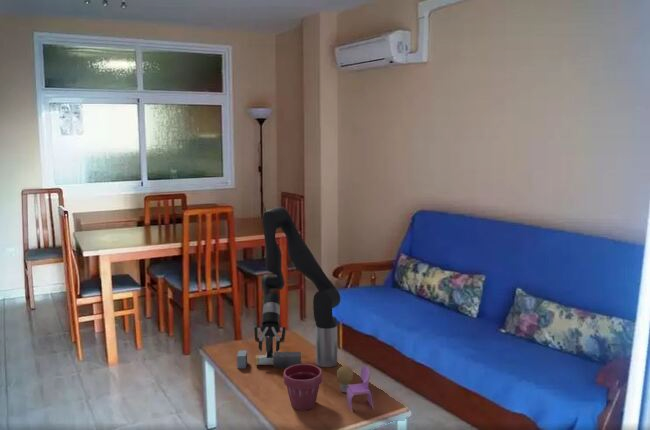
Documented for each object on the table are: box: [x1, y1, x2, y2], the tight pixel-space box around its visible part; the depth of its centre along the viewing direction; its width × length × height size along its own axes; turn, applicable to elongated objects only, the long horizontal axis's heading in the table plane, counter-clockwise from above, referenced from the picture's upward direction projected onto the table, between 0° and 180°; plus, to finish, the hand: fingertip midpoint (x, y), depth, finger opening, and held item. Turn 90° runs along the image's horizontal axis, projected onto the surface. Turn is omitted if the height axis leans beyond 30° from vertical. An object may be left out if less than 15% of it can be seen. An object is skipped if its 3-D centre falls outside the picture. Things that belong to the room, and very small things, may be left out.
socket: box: [236, 349, 248, 369], centre depth 238 cm, size 4×6×6 cm, turn 0°
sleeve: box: [273, 351, 302, 369], centre depth 238 cm, size 12×5×5 cm, turn 90°
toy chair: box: [346, 365, 375, 412], centre depth 202 cm, size 8×9×15 cm
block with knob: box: [254, 335, 274, 366], centre depth 237 cm, size 18×3×12 cm, turn 90°
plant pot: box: [283, 363, 323, 411], centre depth 204 cm, size 14×14×13 cm
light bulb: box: [336, 365, 354, 393], centre depth 214 cm, size 6×6×10 cm
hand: (269, 350), depth 236 cm, fingers open, 6 cm apart
